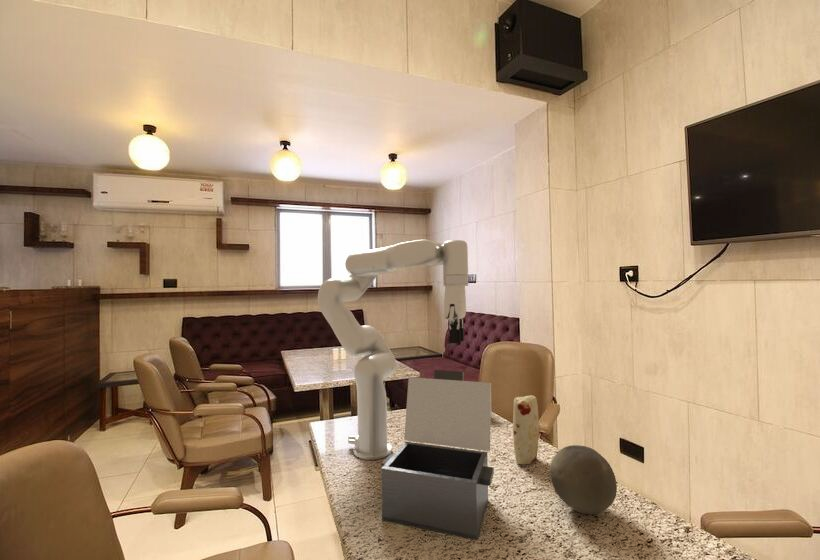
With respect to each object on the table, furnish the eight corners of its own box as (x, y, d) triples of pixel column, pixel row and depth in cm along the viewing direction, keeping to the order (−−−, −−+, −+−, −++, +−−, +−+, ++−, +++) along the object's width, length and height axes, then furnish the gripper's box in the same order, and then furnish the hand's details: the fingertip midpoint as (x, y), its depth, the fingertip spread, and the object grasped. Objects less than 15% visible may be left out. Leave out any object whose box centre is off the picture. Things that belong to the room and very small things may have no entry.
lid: (409, 368, 109) (410, 368, 110) (404, 440, 104) (405, 439, 105) (490, 373, 101) (491, 373, 102) (489, 451, 96) (490, 450, 97)
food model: (526, 470, 111) (525, 401, 111) (507, 462, 116) (506, 396, 117) (545, 460, 117) (543, 395, 118) (526, 453, 122) (524, 390, 123)
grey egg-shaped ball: (562, 489, 100) (561, 432, 101) (622, 509, 91) (621, 445, 92) (542, 515, 89) (541, 450, 90) (609, 539, 80) (607, 468, 81)
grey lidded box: (373, 518, 89) (372, 466, 89) (398, 484, 104) (397, 440, 104) (487, 542, 80) (486, 484, 80) (497, 501, 95) (496, 453, 95)
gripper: (450, 281, 125) (451, 338, 124) (436, 281, 109) (437, 345, 109) (472, 281, 122) (474, 338, 122) (462, 280, 107) (463, 346, 106)
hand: (456, 341), depth 115 cm, fingers open, 3 cm apart
